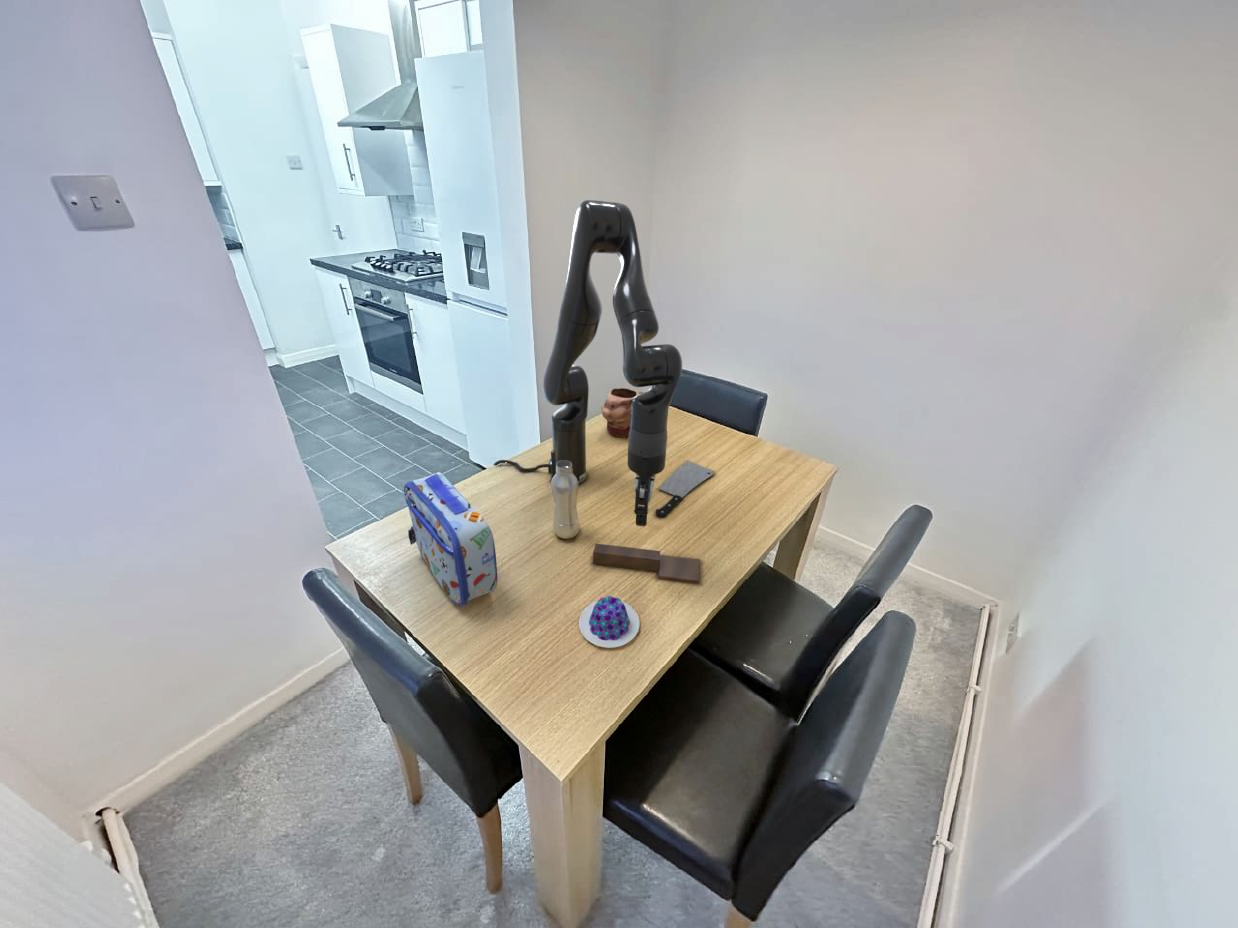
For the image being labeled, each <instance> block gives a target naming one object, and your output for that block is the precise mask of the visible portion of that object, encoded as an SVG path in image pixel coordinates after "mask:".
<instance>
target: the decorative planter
mask: <svg viewBox="0 0 1238 928" xmlns="http://www.w3.org/2000/svg"><path fill="white" fill-rule="evenodd" d="M643 392H644V391H639V390H638V391H637V390H634V389H631V388H626V387H618V388H612V389H611V390H610V391H609V392H608V393H607V395H606V399H605V401H604V403H603V404H602V405H601V407H600V408H601V409H600V410H601V415H602V417H603V418H604V419H605V420H606V430H607V432H608V433H609V434H610V435H612V436H616V437H620V438H625V437H627V438H628V437H629V430H630V421H631V404H632V400H633V398H634V397H635V396H637V395H639V394H641V393H643Z"/></svg>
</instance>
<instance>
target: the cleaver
mask: <svg viewBox="0 0 1238 928" xmlns="http://www.w3.org/2000/svg"><path fill="white" fill-rule="evenodd" d="M713 475H714V472H713V470H712V469H709V468H707V467H704V466H702V465H699V464H697V463H694V462H691V461H688V460H687V461H685V462H683V464H681V465H680V466H679V467H677V469H675V470H674V471H673V472H672V473H671V475H669V476H668V477H667V479H665V481H664V482H663V483H661V485H660V486H659V487H658V490H660V491H662V492H664V493H667V494H670V495H672V496H673V497H672V498H671V499H670V500H668V501H667V503H666V504H664V505H663V506H662V507H660V508H658V509H656V510H655V515H656V516H657V517H659V518H661V517H665V516H667V515H668V514H669V513H670V512H671V511H672V510H673V509H674V508H675V507H676V505H678V503H679V502H681V501H682V500H683V498H685V496H687V494H688V493H689V492H691V491H692V490H693V489H694V488H696V487H698V486H699V485H700V484H701V483H703V482H705V481H706V480H708V479H709V478H711V477H712V476H713Z"/></svg>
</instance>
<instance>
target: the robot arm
mask: <svg viewBox="0 0 1238 928" xmlns="http://www.w3.org/2000/svg"><path fill="white" fill-rule="evenodd" d="M594 254H607V255H608V254H610V255H611V254H612V255H615V254H616V256H617V257H618V258H619V262H620V271H619V272H620V273H619V275H618V277H617V280H616V283H615V286H614V289H613V293H612V308H613V311H614V315H615V318H616V321H617V324H618V327H619V330H620V334H621V343H622V373H623V376H624V379H625V380H626V382H627V383H628V384H629V385H631V386H632V387H634V388H644V387H650V388H649V389H647V390H646V391H642V392H643V393H641V394H639V395H637V396H635V397H634V398H633V400H632V404H631V421H630V430H629V436H628V437H627V438H628V440H627V441H628V442H627V443H628V444H627V467H628V469H629V470H630V471H631V472H632V473H635V477H634V486H635V487H634V496H633V498H634V509H633V513H634V515H635V525H636V526H639V527H646V526H647V524H648V523H647V522H648V514H649V503H650V502H651V501H652V498H653V489H654V487H655V482H656V481H655V479H656V475H658V474H660V473H662V472H663V471H664V470H665V467H666V459H667V458H666V456H667V445H668V419H669V408H670V405H671V402H672V401H673V397H674V395H675V392H676V389H677V387H678V385H679V381H680V379H681V376H682V372H683V359H682V354H681V353H680V351H679V349H678V348H677V347H676V345H673V344H670V343H663V344H653V345H644V346H643V344H645V343H647V342H650V341H651V340H653V339H654V338H655V337H656V336H657V335H658V334H659V330H660V325H659V321H658V317H657V314H656V312H655V308H654V306H653V303H652V300H651V297H650V295H649V291H648V287H647V283H646V280H645V274H644V268H643V261H642V255H641V249H640V243H639V237H638V232H637V226H636V221H635V218H634V215H633V212H632V211H631V209H630V208H629V207H628V205H626V204H624V203H621V202H615V201H614V202H613V201H603V200H597V199H596V200H595V199H586V200H583V201H582V202H581V203H580V204H579V206H578V207H577V210H576V214H575V217H574V223H573V229H572V237H571V248H570V254H569V264H568V271H567V277H566V282H565V286H564V292H563V295H562V299H561V300H562V301H561V305H560V309H559V315H558V319H557V325H556V331H555V337H554V341H553V344H552V345H553V346H552V350H551V352H550V356H549V360H548V362H547V365H546V369H545V372H544V374H543V375H544V376H543V381H542V390H543V396H544V398H545V401H546V402H547V403H549V404H550V405H553V406H560V407H559V408H558V409H556V410H555V411H554V412H552V414H551V417H550V419H551V422H550V423H551V440H552V449H551V451H550V459H549V461H548V463H542V464H538V465H536V466H535V467H521V465H520V464H519V463H518V462H515V461H513V460H508V459H500V460H497V461H496V462H494V463H493V466H495V467H496V466H498V465H500V464H507V465H512V466H515V467H516V468H517V469H518V470H519V471H521V472H527V473H529V472H535V471H538V470H539V469H542V468H547V472H548V474H551V479H552V478H553V477H554V475H555V474H556V463H557V462H558V461H561V460H567V461H570V462H571V463H572V469H573V471H572V473H573V474H574V475H575V477H576V478H577V480H578V485H580V484H582V483H584V482H585V481H586V479H587V449H586V448H587V443H586V442H587V441H586V440H587V439H586V437H587V436H586V432H587V431H586V422H587V421H586V420H587V418H588V413H589V412H588V411H589V409H588V408H589V394H590V393H589V392H590V391H589V390H590V387H589V379H588V376H587V373H586V371H585V370H584V368H583V367H582V366H580V365H577V364H575V362H576V361H577V360H578V359H579V357H580V356H581V355H582V354H583V353H584V352H585V351H586V350H587V349H588V347H589V346H590V345H591V344H592V342H593V341H594V339H595V337H596V335H597V332H598V329H599V325H600V321H601V319H602V318H601V317H602V313H603V305H602V301H601V298H600V296H599V293H598V291H597V288H596V286H595V283H594V282H593V279H592V275H591V261H592V257H593V255H594ZM505 462H507V463H505Z"/></svg>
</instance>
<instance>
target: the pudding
mask: <svg viewBox="0 0 1238 928" xmlns="http://www.w3.org/2000/svg"><path fill="white" fill-rule="evenodd" d="M578 624H579V625H578V626H579V630H580V632H581V634H582V636H583V637H584V638H585V640H587V641H588V642H590V643H591V644H593V645H595V646H598V647H602V648H608V649H609V648H610V649H611V648H619V647H623V646H624V645H626V644H628V643H630V642H631V641H632V640H633V639H634V638H635V637H636V636H637V634H638V633H639V630H640V626H641V625H640V624H641V623H640V617H639V615H638V613H637V611H636V609H634V607H632V606H631V605H630V604H628V603H626V602H624V601H622V600H621V599H620V598H619V597H614V596H612V595H608V596H606V597H601V598H599V599H598V600H596V601H594V602H592V603H590V604H589V605H588V606H587V607H585V608H584V609H583V610H582V612H581V614H580V616H579V620H578Z"/></svg>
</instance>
